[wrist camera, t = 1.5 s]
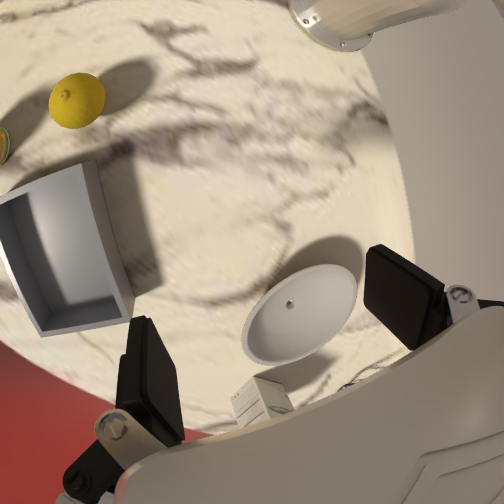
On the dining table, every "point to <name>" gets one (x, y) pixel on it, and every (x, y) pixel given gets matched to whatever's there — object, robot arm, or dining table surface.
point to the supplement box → (260, 402)
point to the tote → (64, 253)
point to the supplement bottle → (4, 145)
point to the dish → (299, 315)
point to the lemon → (77, 100)
